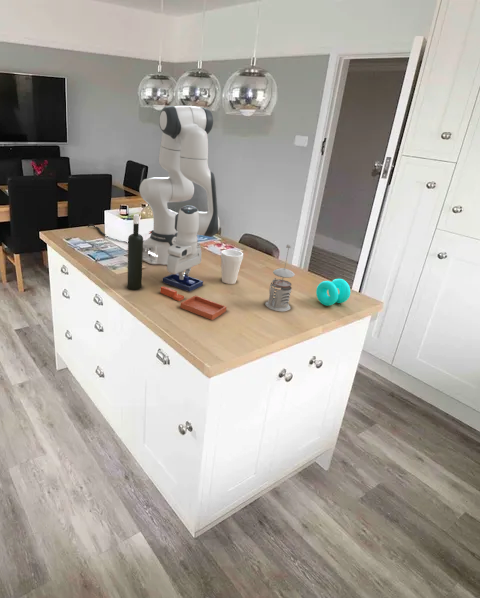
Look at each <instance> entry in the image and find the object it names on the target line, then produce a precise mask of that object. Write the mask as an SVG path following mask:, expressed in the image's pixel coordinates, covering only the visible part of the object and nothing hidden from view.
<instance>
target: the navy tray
mask: <svg viewBox="0 0 480 598" xmlns="http://www.w3.org/2000/svg"><path fill="white" fill-rule="evenodd" d="M178 274H179V273H178ZM173 277H174V274H171V273H170V274H169V275H166V276H164V277H162V283H164V284H166V285H169V286H172V287H175V288H177V289H181V290H183V291H186V292H192V291H195V290H196V289H199V288H200V287H202V286H203V285H204V280H201V279H198V278H195V277H192V276H189V280H192V281H195V282H196V284H194V285H192V286H189V285H186V284H185V283H182V282H179V281H176V280H173Z"/></svg>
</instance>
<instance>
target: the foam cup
mask: <svg viewBox="0 0 480 598" xmlns="http://www.w3.org/2000/svg"><path fill="white" fill-rule="evenodd" d="M220 259H221V260H220V265H221V266H220V267H221V269H220V270H221V282H222V283H224V284H227V285H228V284H229V285H234V284H236V283H237V279H238V277H239V273H240V269H241V265H242V262H243V260H244V252H242V251H240V250H238V249H237V250H236V249H223V250H221V252H220Z"/></svg>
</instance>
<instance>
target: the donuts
mask: <svg viewBox="0 0 480 598" xmlns="http://www.w3.org/2000/svg"><path fill="white" fill-rule="evenodd" d="M315 293H316V298H317V301H318V302H319V303H320V304H321V305H323V306H327V307H330V306H333V305H335V304H336V303H337V304H344V303H346V302H347V301H348V300H349V298H350V297H351V287H350V284H349V282H347V281H346V280H345V279H343V278H335V279H333V280H332V281H330V280H322V281H320V283H319V284H318V285H317V286H316V290H315Z"/></svg>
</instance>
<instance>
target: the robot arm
mask: <svg viewBox="0 0 480 598" xmlns="http://www.w3.org/2000/svg"><path fill="white" fill-rule="evenodd" d="M158 123H159V128H160V130H161V131H162V133H161V139H160V146H159V152H158V153H159V155H158V163H159V165H160V167H161V168H162V169H163V170H165V171H166V172H168V176H165V177H164V176H162V177H159V176H158V177H157V176H154V177H149V178H144V179H142V181H141V182H140V185H139V196H140V197H141V199H142V200H143V201H144V202H145V203H146V204H147V205H148V206H149V207H150V209H151V212H152V216H153V217H152V218H153V219H152V220H153V228H152V230H150V231H149V232H148V235H150V236H149V237H148V238H147V239H143V259H142V262H146V263H147V264H149V265H162V266H163V265H166V271H167V273H168V274H170V275H171V274H177V273H179V279H180V280H183V279H185V276H187V277H190V273H191V271H192V268H193V267H196V266H198V265H200V264H201V263H202V255H203V253H202V252H203V251H202V248H201V244H200V243H199V242H198V241H199V239H198V236H204V237H209V238H212V237H214V236H216V235H217V234H218V233H219V231H220V226H221V222H220V217H219V213H218V212H219V211H218V197H217V186H216V185H217V184H216V177H215V174H214V172H212V171H211V169H210V167H209V159H208V158H209V137H208V135H209V133H210V132H211V131H212V130H213V126H214V116H213V112H212V111H211V110H210V109H209V108H205V107H203V106H201V107H198V106H192V105H176V106H174V105H168V106H164V107H163V108H162V110H161V111H160V113H159V117H158ZM194 184H195V185H198V186H200V187H201V188H203V189H204V190H205V192H206V199H207V200H206V202H207V211H199V209H198V208H197V207H196V206H194V205H183V206H181V207H180V208H179V210H178V213H176V212H175V211H173V210H172V209H170V208H168V203H183V202H187V201H190V200H192V198H193V196H194V193H195V185H194ZM91 226H92V227H94V228H95V229H97V230H98V232H99V233H100V234H101V235H102V236H104V237H106V236H105V235H106V233H104V232H103V231H101V229H100V228H99V227H98V226H96V225H95V224H93V223H88V224H87V226H86V227H91ZM95 226H96V227H95Z"/></svg>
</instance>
